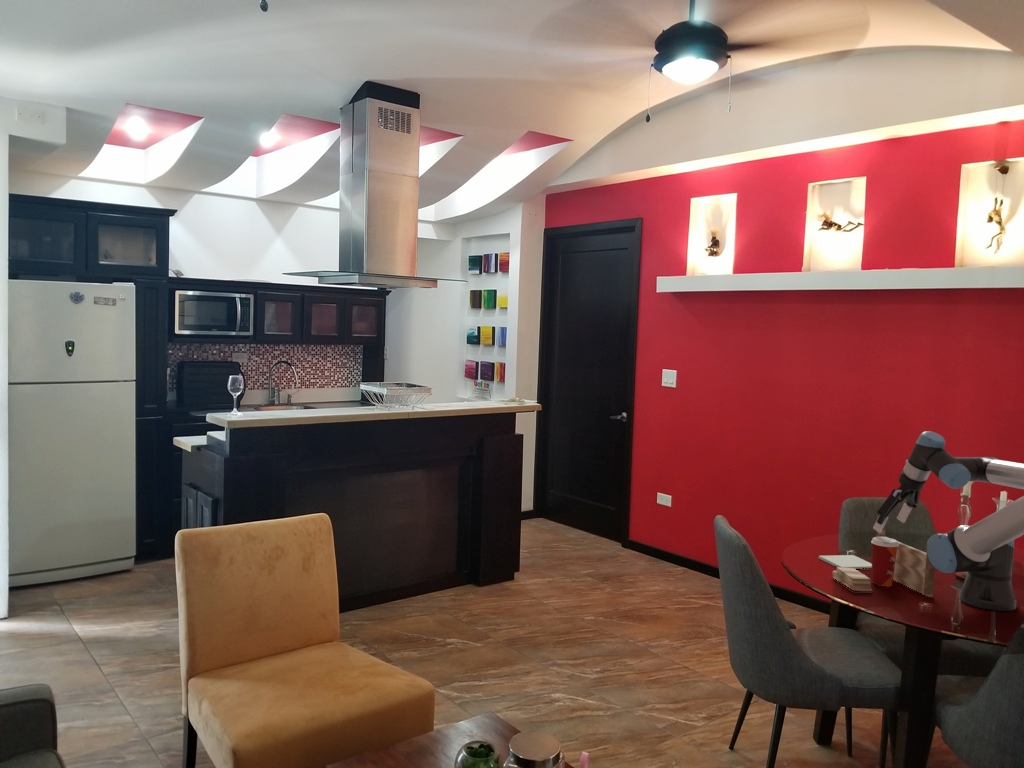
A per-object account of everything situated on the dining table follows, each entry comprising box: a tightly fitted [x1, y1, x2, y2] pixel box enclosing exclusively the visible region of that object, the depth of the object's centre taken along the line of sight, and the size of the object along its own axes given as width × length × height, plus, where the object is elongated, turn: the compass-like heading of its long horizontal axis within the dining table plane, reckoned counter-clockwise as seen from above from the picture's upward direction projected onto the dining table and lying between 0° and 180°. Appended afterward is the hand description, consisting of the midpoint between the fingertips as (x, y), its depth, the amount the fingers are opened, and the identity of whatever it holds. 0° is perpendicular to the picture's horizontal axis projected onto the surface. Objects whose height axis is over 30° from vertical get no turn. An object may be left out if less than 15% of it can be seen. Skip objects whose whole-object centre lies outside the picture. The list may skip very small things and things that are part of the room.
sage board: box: [818, 554, 872, 570], centre depth 283 cm, size 14×14×1 cm
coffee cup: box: [870, 536, 899, 588], centre depth 260 cm, size 8×8×15 cm
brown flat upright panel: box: [876, 523, 936, 598], centre depth 261 cm, size 26×2×18 cm, turn 11°
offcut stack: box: [832, 567, 873, 592], centre depth 258 cm, size 14×6×4 cm, turn 4°
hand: (888, 525), depth 267 cm, fingers open, 13 cm apart
